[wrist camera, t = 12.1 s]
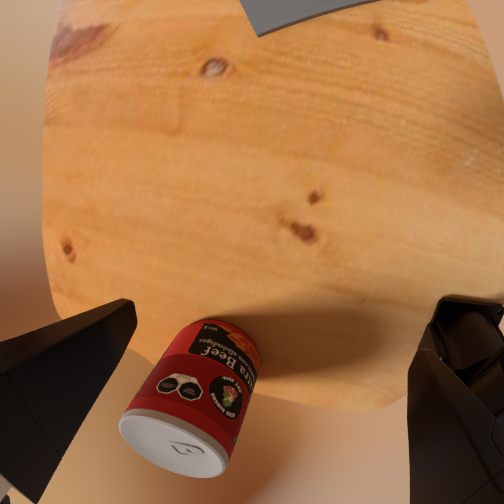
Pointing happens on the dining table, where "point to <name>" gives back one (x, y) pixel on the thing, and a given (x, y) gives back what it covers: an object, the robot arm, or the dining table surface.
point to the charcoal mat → (290, 12)
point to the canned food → (194, 400)
